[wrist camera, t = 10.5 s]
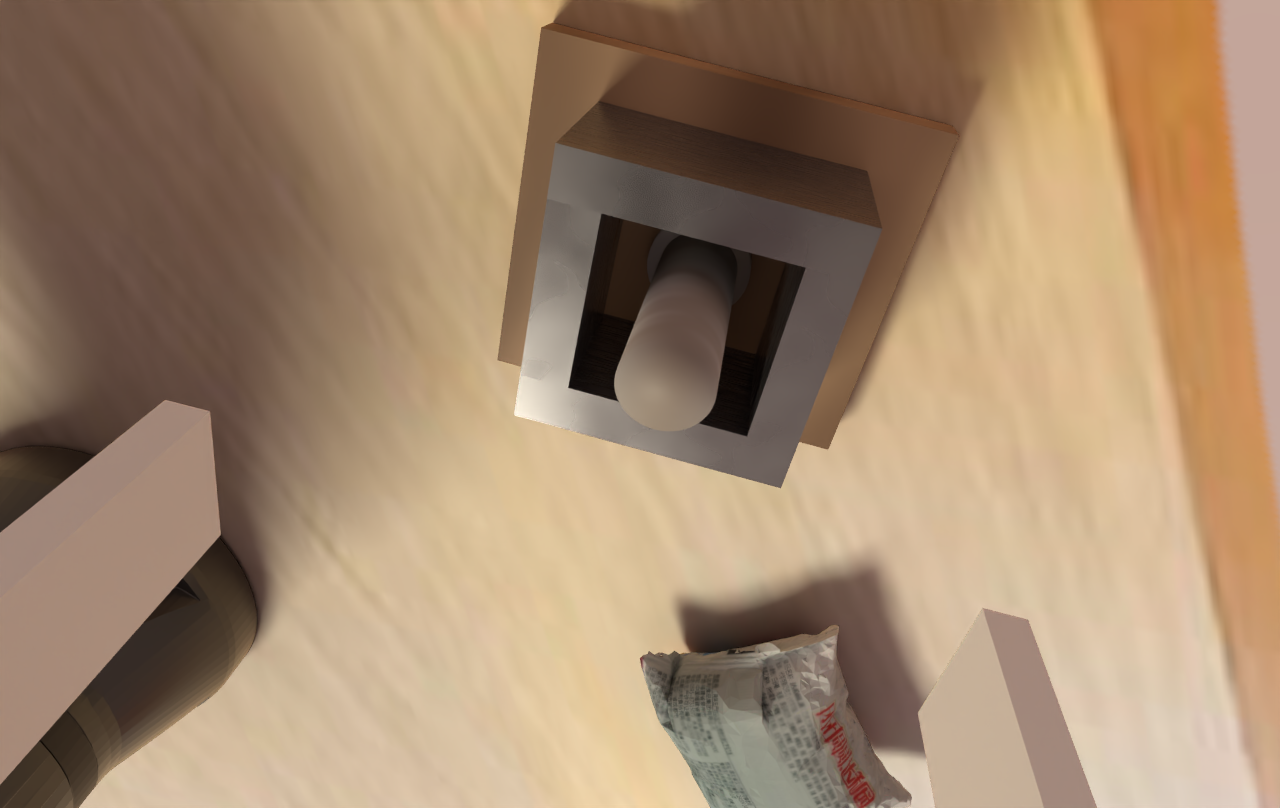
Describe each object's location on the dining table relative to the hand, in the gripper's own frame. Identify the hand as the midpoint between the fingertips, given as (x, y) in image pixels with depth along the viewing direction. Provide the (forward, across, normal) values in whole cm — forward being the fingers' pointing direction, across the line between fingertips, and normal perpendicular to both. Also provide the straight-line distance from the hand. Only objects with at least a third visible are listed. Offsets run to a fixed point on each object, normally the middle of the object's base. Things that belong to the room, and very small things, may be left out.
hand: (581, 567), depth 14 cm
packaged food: (+16, +10, -19) cm, 27 cm away
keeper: (+15, +1, 0) cm, 15 cm away
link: (+14, +1, 0) cm, 14 cm away
